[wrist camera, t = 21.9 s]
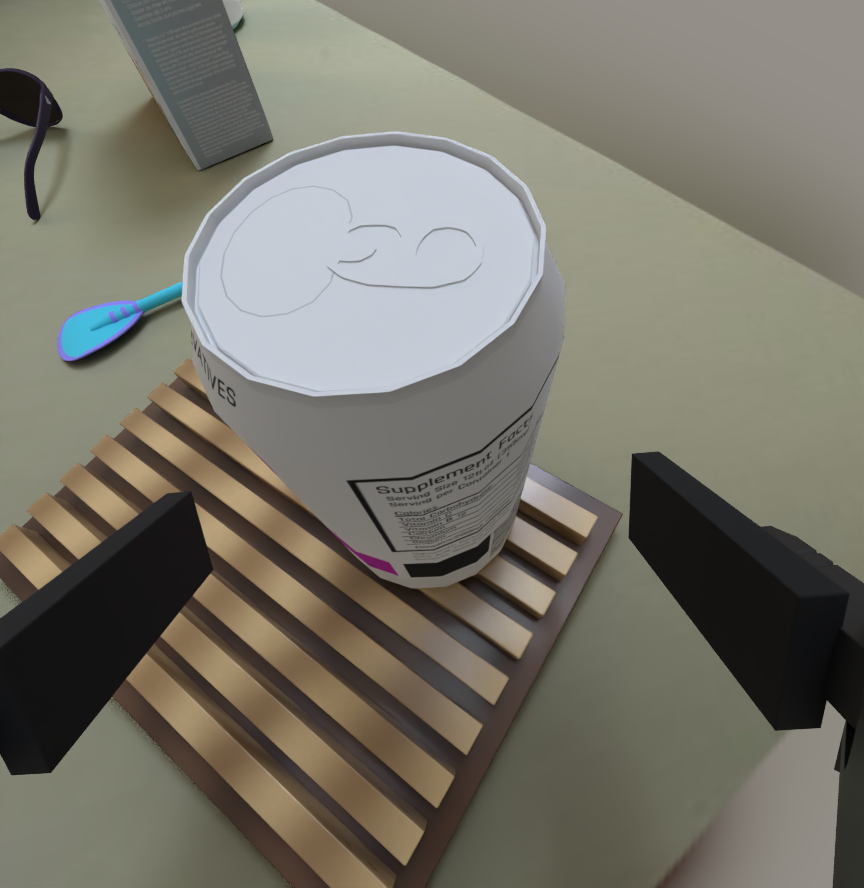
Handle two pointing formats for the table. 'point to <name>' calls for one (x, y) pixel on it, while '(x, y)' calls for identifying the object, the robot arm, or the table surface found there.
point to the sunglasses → (29, 119)
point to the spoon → (106, 323)
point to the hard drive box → (193, 74)
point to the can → (233, 11)
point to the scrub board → (318, 647)
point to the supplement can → (383, 341)
